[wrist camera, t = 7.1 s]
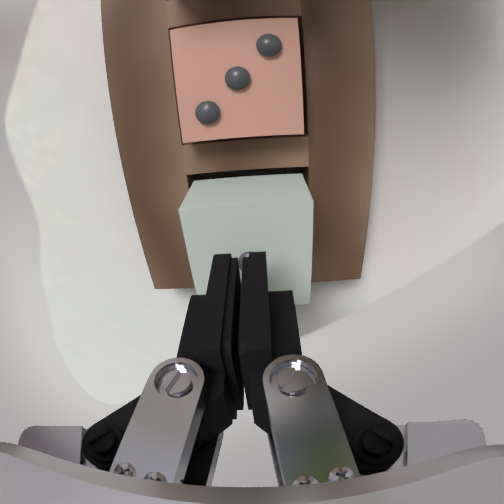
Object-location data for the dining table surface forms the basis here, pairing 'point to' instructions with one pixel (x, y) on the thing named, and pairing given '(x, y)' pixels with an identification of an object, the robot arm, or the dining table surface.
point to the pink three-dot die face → (238, 79)
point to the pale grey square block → (252, 228)
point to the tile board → (245, 148)
